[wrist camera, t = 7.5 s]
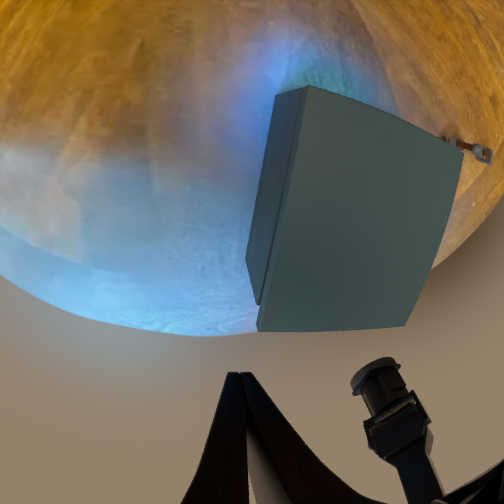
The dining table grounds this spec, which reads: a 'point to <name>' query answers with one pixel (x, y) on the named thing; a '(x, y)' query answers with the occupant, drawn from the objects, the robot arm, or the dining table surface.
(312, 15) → the dining table surface
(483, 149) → the toy rocket launcher
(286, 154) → the chest
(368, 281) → the lid
